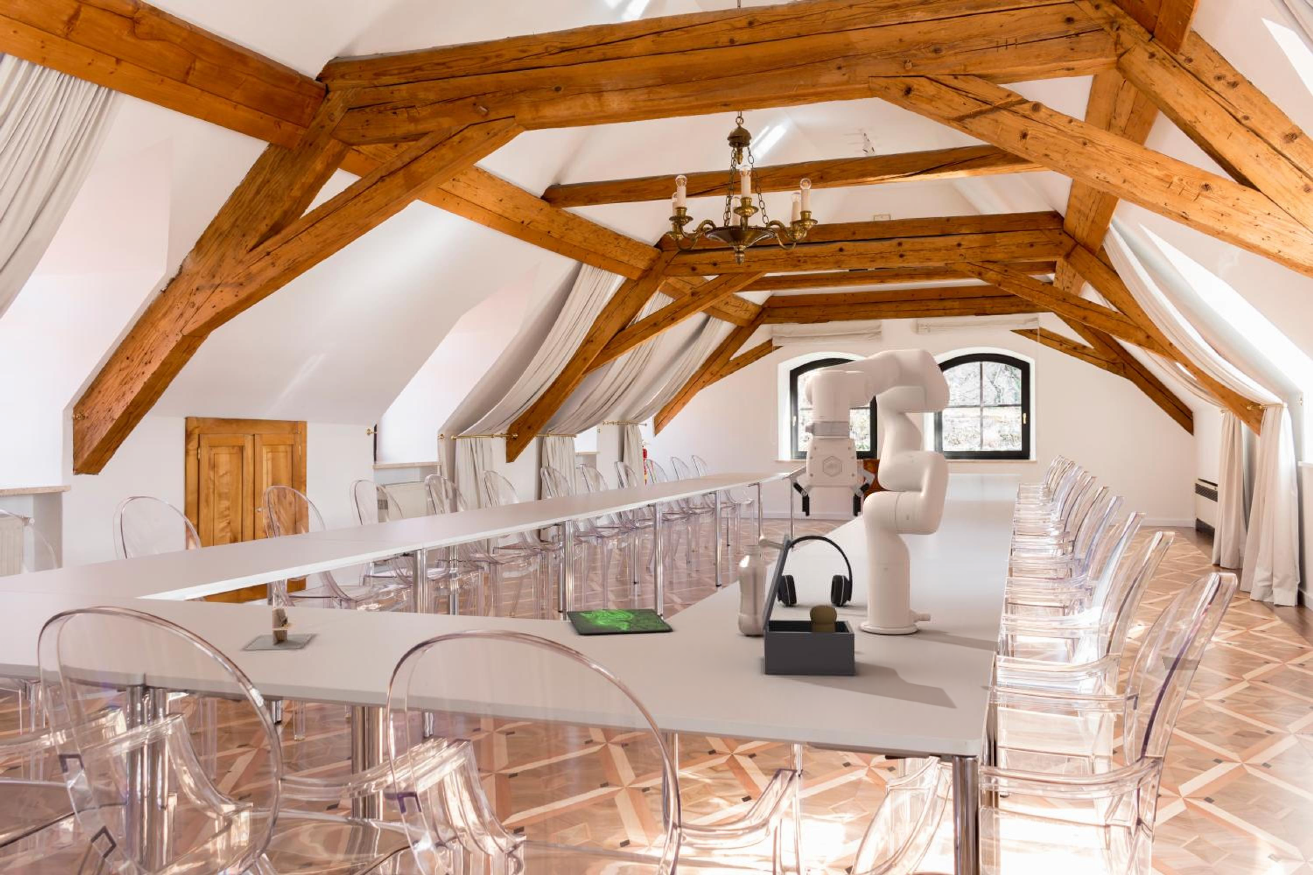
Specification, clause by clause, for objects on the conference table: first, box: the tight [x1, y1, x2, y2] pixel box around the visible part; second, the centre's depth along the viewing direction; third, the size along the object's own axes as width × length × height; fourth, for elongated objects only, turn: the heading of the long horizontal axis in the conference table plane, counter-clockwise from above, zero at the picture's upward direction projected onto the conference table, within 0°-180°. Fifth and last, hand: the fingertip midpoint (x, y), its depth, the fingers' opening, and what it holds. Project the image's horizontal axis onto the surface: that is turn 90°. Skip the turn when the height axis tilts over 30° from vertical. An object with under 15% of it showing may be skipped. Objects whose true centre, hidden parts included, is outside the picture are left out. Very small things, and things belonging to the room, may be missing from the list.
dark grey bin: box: [763, 619, 856, 676], centre depth 201 cm, size 17×14×8 cm
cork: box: [809, 604, 838, 633], centre depth 201 cm, size 6×6×11 cm
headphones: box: [776, 534, 854, 607], centre depth 273 cm, size 20×7×18 cm, turn 89°
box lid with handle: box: [758, 532, 792, 630], centre depth 202 cm, size 17×14×6 cm
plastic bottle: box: [737, 544, 768, 636], centre depth 234 cm, size 6×7×20 cm
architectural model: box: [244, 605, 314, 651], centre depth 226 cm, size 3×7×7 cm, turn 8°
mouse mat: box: [566, 608, 673, 635], centre depth 249 cm, size 27×22×1 cm
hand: (831, 515), depth 212 cm, fingers open, 9 cm apart
